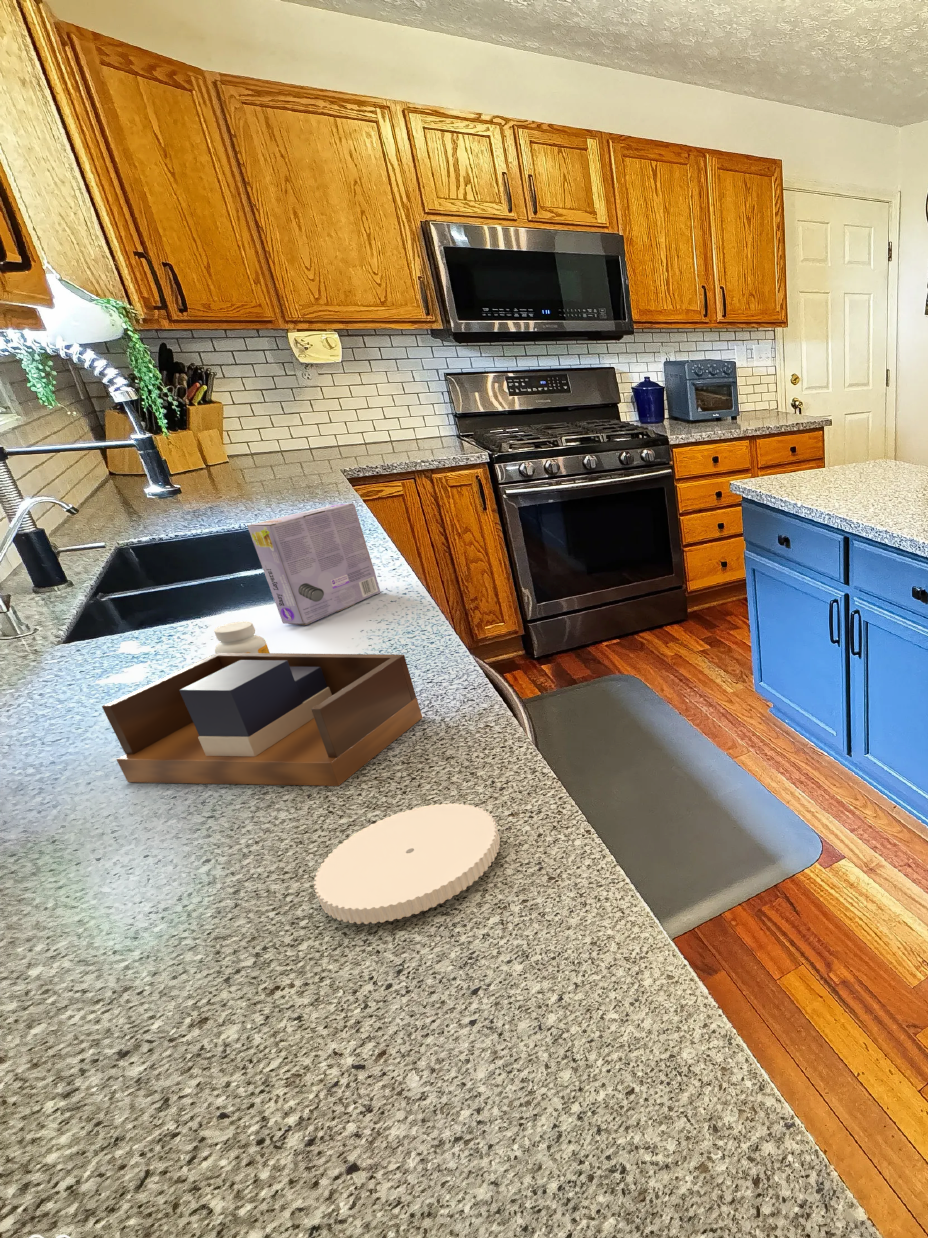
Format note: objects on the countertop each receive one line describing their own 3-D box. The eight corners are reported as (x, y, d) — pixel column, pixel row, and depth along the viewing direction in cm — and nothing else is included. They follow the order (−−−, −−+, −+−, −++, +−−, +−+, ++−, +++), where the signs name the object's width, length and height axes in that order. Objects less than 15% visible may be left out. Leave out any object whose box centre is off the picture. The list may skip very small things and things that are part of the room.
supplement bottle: (248, 702, 94) (221, 636, 90) (223, 695, 95) (196, 631, 92) (290, 685, 98) (267, 622, 94) (266, 679, 100) (242, 617, 96)
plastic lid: (512, 890, 61) (506, 867, 60) (317, 959, 54) (306, 935, 53) (492, 807, 72) (487, 787, 71) (328, 856, 65) (319, 835, 64)
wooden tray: (127, 782, 76) (91, 710, 73) (242, 715, 90) (217, 652, 87) (338, 786, 76) (312, 713, 72) (422, 717, 89) (404, 654, 86)
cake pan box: (363, 590, 136) (336, 500, 129) (387, 590, 136) (361, 500, 129) (279, 626, 119) (242, 524, 112) (306, 627, 118) (271, 525, 111)
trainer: (255, 756, 76) (228, 691, 72) (205, 756, 76) (177, 690, 73) (335, 704, 87) (315, 645, 83) (291, 703, 87) (269, 645, 84)
